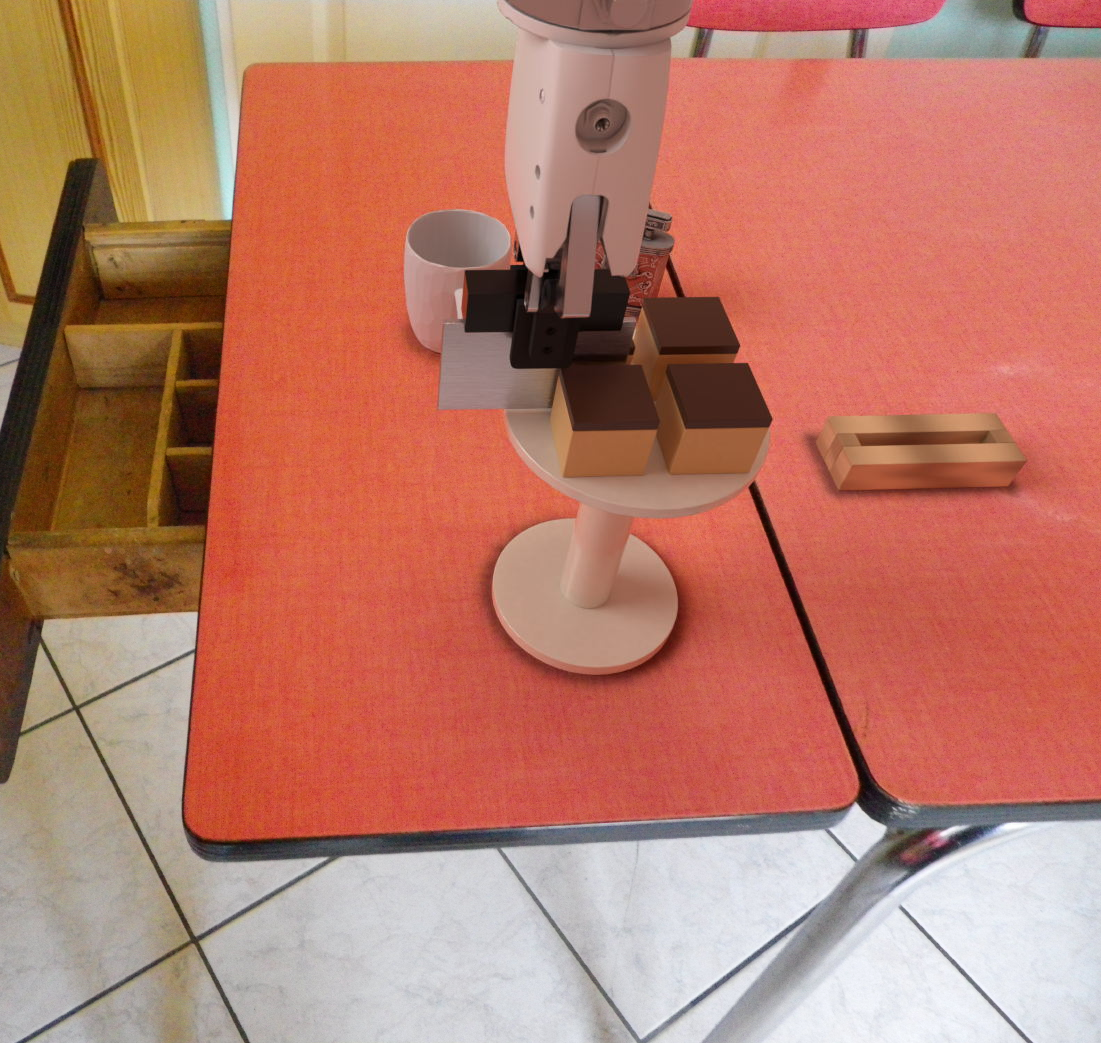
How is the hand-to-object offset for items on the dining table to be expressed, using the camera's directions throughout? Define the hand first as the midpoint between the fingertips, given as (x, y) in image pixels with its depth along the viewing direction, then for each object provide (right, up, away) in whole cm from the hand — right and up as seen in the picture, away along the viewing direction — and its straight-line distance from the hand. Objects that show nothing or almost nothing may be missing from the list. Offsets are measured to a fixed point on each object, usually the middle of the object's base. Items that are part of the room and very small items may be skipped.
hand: (536, 345), depth 50 cm
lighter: (+13, +12, +41) cm, 44 cm away
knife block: (+34, -5, +27) cm, 44 cm away
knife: (0, -3, +3) cm, 4 cm away
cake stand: (+6, -15, +18) cm, 24 cm away
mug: (-3, +6, +36) cm, 36 cm away
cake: (+6, -3, +4) cm, 8 cm away
